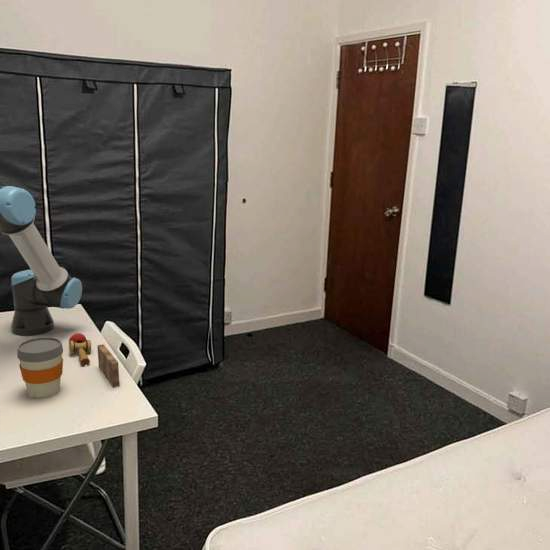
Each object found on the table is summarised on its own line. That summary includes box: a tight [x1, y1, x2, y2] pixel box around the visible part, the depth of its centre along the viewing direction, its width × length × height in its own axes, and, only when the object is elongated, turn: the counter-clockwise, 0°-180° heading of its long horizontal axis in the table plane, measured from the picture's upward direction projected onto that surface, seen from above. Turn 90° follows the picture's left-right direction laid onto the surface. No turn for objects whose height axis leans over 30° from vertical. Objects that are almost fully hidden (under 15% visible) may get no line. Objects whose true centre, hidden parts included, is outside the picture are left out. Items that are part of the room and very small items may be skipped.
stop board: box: [96, 343, 120, 388], centre depth 175 cm, size 16×2×8 cm, turn 32°
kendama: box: [68, 332, 92, 367], centre depth 190 cm, size 8×6×18 cm
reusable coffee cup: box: [16, 336, 64, 399], centre depth 164 cm, size 13×13×15 cm
